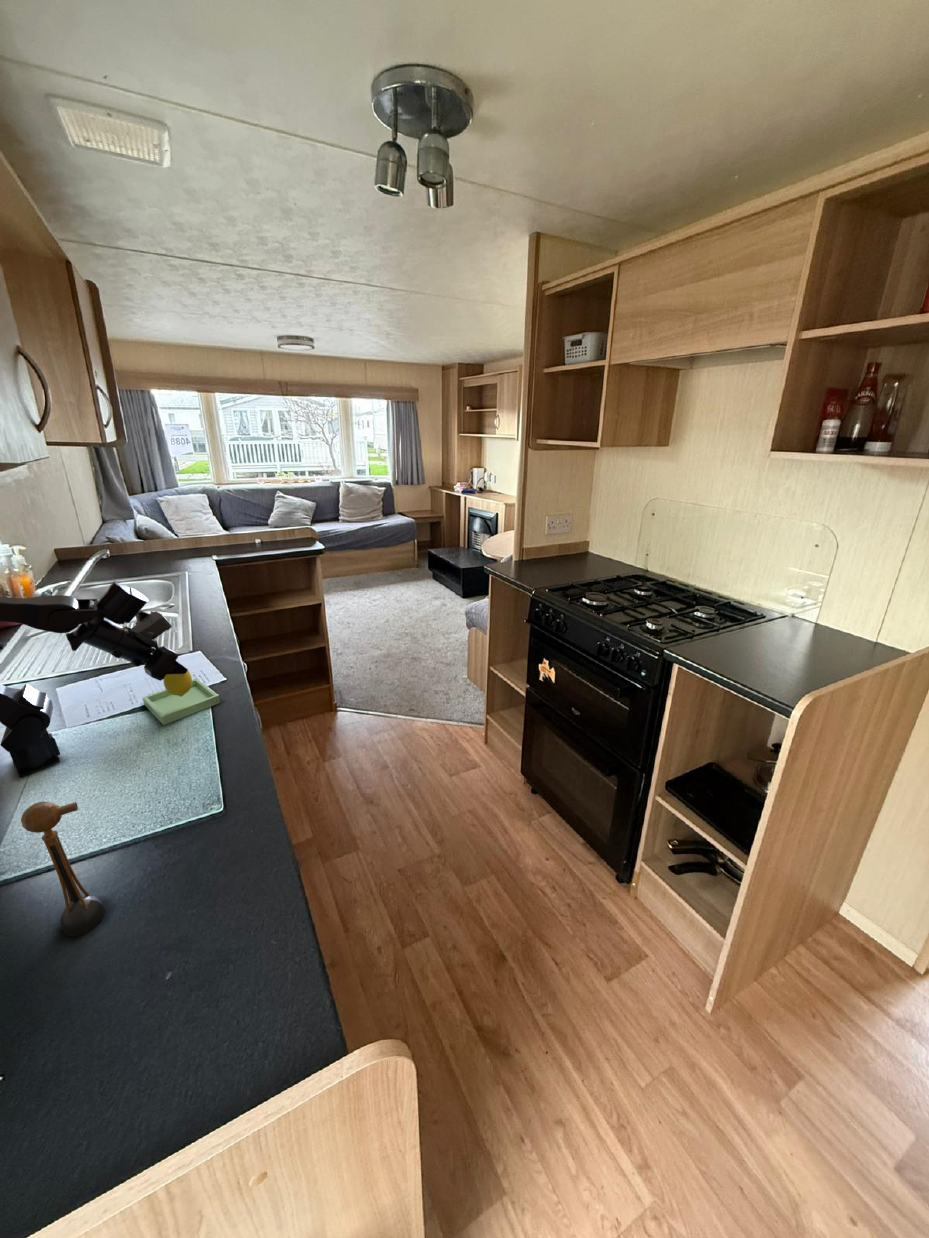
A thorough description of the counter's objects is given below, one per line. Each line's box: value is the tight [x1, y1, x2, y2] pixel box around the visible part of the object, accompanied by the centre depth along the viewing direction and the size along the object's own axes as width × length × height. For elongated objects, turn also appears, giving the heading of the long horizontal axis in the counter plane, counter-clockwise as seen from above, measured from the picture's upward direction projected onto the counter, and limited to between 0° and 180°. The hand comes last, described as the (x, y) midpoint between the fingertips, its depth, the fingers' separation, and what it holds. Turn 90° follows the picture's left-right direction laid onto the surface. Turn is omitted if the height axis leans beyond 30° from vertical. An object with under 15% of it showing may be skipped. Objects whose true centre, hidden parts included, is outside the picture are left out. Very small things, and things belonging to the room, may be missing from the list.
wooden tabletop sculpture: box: [20, 801, 107, 937], centre depth 65 cm, size 6×5×20 cm
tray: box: [142, 678, 221, 726], centre depth 120 cm, size 13×13×2 cm
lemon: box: [162, 670, 193, 697], centre depth 113 cm, size 6×6×8 cm
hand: (181, 668), depth 113 cm, fingers closed on lemon, 4 cm apart
